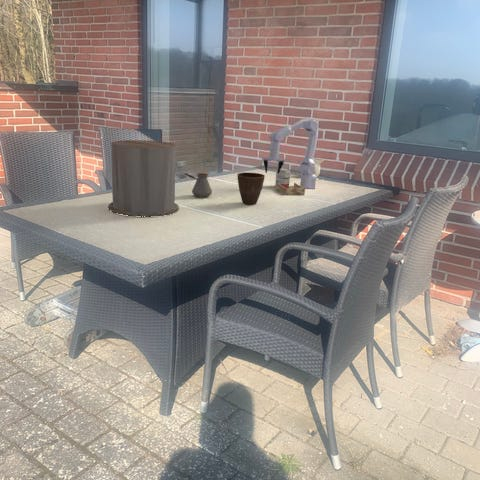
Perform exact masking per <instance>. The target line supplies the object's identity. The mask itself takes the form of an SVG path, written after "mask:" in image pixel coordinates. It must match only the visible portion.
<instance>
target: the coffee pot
mask: <svg viewBox="0 0 480 480" xmlns="http://www.w3.org/2000/svg"><path fill="white" fill-rule="evenodd" d="M184 175H185V176H184ZM182 176H183V177H184V178H186V177H188V178H190V179H194V180H195V184H194V186H193V188H192V189H191V192H192V195H194V196H195V198H200V199H207V198H209V196H211V195H212V194H213V190H212V188H211V185H210V182H209V180H208V176H209V174H208V173H203V172H200V173H199V172H198V173H197V174H196V176H197V178H196V177H195V176H193V175H191V174H189V173H183V174H182Z"/></svg>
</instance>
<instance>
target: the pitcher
mask: <svg viewBox="0 0 480 480" xmlns="http://www.w3.org/2000/svg"><path fill="white" fill-rule="evenodd" d="M313 161H314V163H315V172H314V173H313V174H315V176H316V179H317V178H318V177H319V175H320V173H321V164H322V163H323V162H324V161H325V160H324V159H319V158H318V159H317V158H316V159H315V158H313ZM301 163H302V161H301V162H300V163H299V166H300V165H301Z"/></svg>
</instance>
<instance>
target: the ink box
mask: <svg viewBox="0 0 480 480" xmlns="http://www.w3.org/2000/svg"><path fill="white" fill-rule="evenodd" d="M275 172H276V173H275V185H274V186H275V187H276V186H277V183H279V184H280V185H282V186H284V187H285V188H290V183H291V181H290V180H291V170H290V169H286V168H282V167H281V169H280V172H279V174H278V173H277V172H278V168H276V171H275Z"/></svg>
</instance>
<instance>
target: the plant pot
mask: <svg viewBox="0 0 480 480" xmlns="http://www.w3.org/2000/svg"><path fill="white" fill-rule="evenodd" d="M236 177H237V184H238V189H239V194H240V199H241V202H242V204H243V205H247V206H255V205H257V203H258V201H259V198H260V195H261V193H262V190H263V186H264V182H265V178H266V176H265V174H263V173H258V172H257V173H256V172H239V173H237V176H236Z"/></svg>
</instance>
